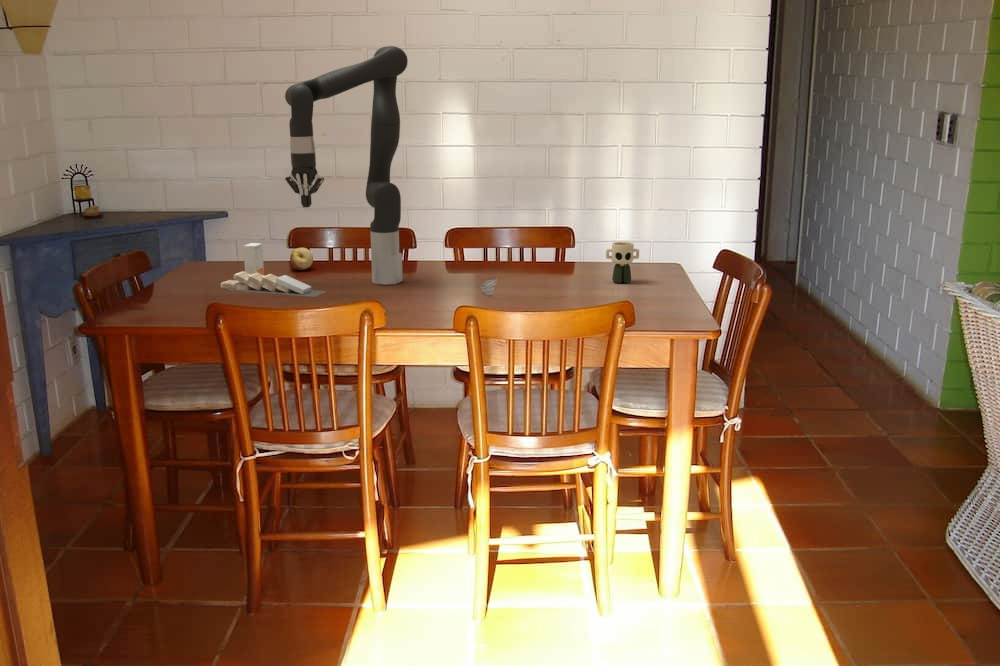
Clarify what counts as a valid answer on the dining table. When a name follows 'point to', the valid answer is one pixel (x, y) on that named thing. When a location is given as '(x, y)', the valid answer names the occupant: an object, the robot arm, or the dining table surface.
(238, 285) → the domino
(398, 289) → the dining table surface
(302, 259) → the fruit
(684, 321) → the dining table surface
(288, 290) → the domino
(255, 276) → the domino
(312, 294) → the mat
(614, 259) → the character mug
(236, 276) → the domino
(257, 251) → the skincare box
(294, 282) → the domino
